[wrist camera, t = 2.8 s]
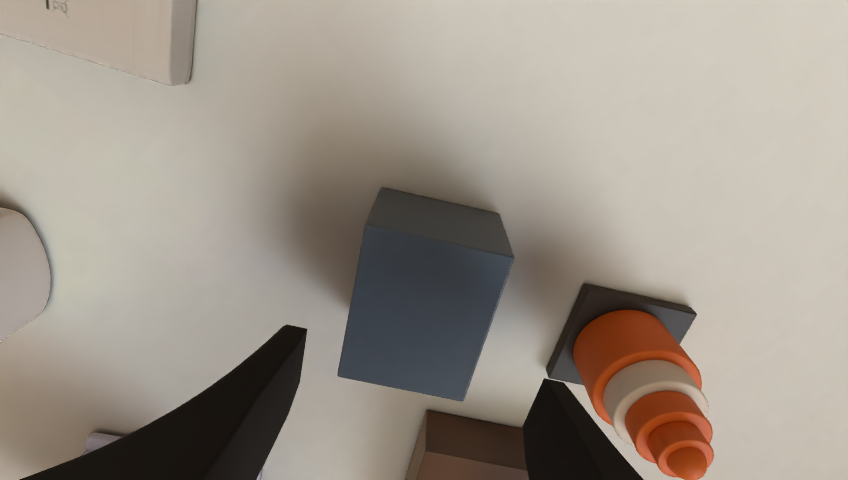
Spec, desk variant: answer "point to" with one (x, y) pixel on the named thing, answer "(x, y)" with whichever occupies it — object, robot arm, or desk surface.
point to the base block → (467, 450)
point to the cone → (639, 376)
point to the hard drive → (110, 33)
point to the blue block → (424, 294)
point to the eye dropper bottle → (21, 273)
